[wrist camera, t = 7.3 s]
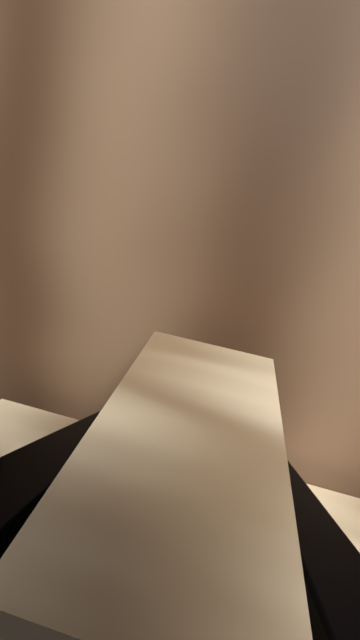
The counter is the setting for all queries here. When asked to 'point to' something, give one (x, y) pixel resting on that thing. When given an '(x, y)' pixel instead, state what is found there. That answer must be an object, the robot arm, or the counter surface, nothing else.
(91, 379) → the plate
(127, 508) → the t-shaped wooden block
